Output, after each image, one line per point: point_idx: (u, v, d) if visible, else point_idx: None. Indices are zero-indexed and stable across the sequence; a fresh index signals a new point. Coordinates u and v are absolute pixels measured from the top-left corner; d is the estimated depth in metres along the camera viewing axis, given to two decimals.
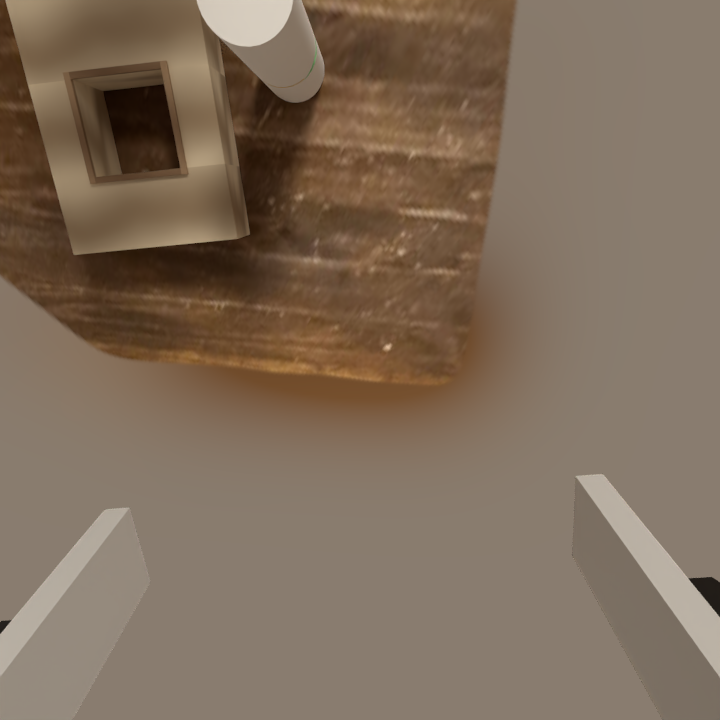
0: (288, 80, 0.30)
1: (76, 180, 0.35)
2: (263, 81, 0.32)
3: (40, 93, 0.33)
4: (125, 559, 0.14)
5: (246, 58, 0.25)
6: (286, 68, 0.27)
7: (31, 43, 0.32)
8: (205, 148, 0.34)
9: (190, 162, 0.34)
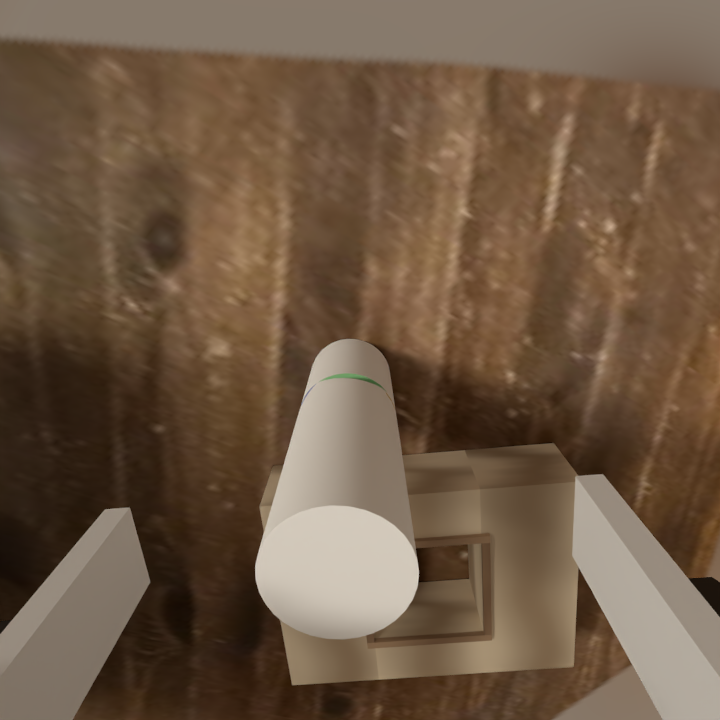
0: (397, 425, 0.20)
1: (485, 651, 0.28)
2: None
3: (387, 669, 0.29)
4: (125, 559, 0.14)
5: None
6: (398, 449, 0.18)
7: (337, 670, 0.29)
8: (459, 510, 0.25)
9: (475, 529, 0.26)
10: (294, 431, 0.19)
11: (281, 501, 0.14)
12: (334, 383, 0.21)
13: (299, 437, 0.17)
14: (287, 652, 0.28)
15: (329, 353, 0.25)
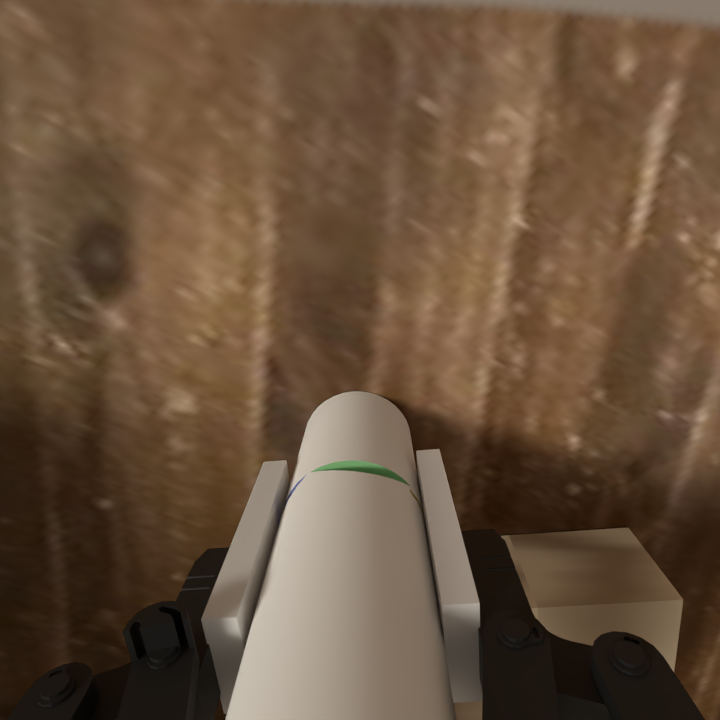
0: (428, 548, 0.13)
1: None
2: None
3: None
4: None
5: None
6: (436, 616, 0.11)
7: None
8: None
9: None
10: (268, 571, 0.12)
11: None
12: (333, 481, 0.14)
13: (271, 603, 0.10)
14: None
15: (328, 416, 0.18)
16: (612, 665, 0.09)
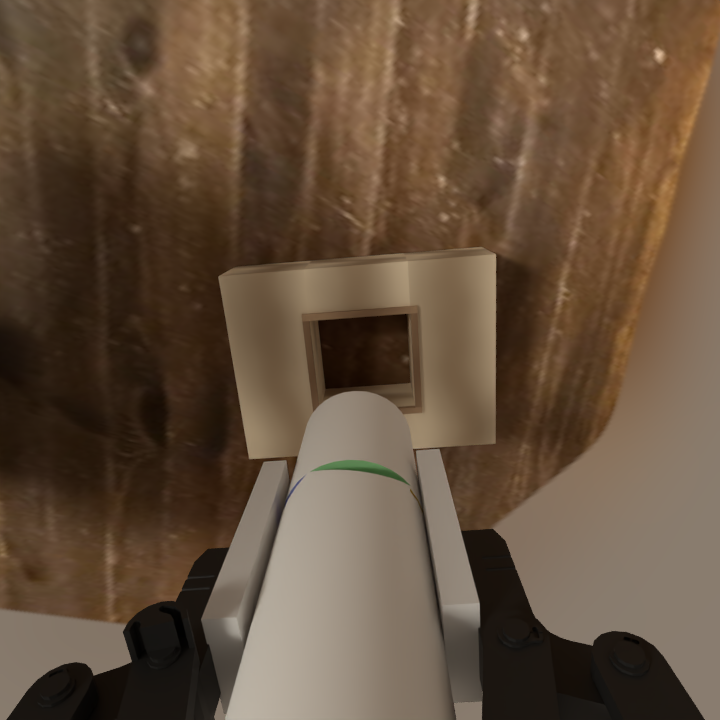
0: (428, 548, 0.13)
1: (417, 426, 0.32)
2: None
3: None
4: None
5: None
6: (436, 615, 0.11)
7: (288, 443, 0.33)
8: (390, 281, 0.29)
9: (404, 301, 0.30)
10: (268, 571, 0.12)
11: None
12: (332, 481, 0.14)
13: (271, 602, 0.10)
14: (244, 425, 0.33)
15: (328, 415, 0.18)
16: (612, 665, 0.09)
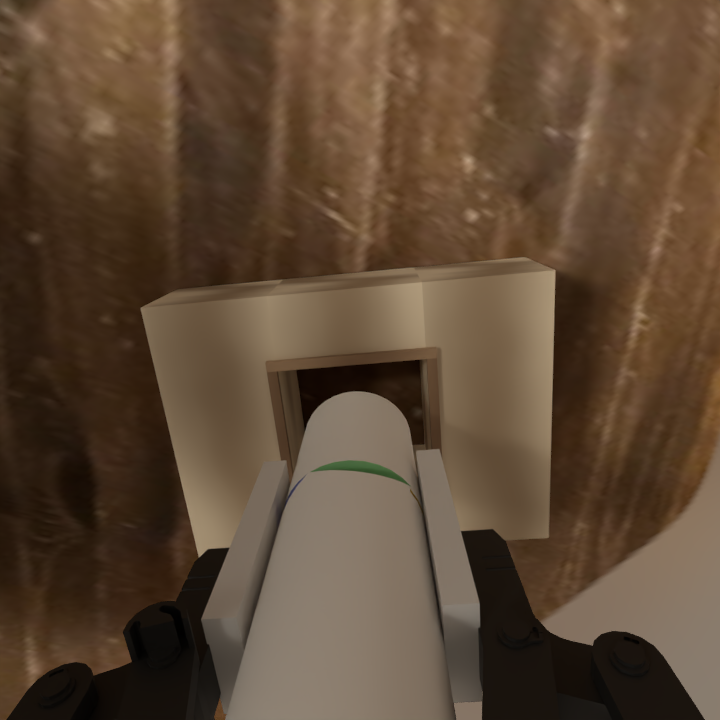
0: (428, 548, 0.13)
1: None
2: None
3: None
4: None
5: None
6: (436, 616, 0.11)
7: None
8: (396, 313, 0.20)
9: (417, 341, 0.20)
10: (268, 571, 0.12)
11: None
12: (333, 481, 0.14)
13: (271, 603, 0.10)
14: (190, 515, 0.23)
15: (328, 416, 0.18)
16: (612, 665, 0.09)
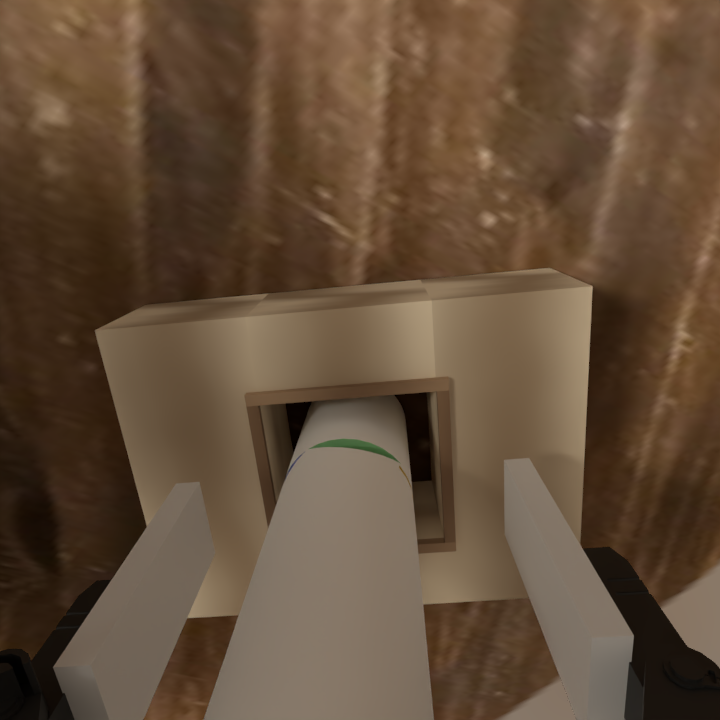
0: (413, 517, 0.15)
1: (447, 569, 0.19)
2: None
3: None
4: (197, 529, 0.15)
5: None
6: (415, 572, 0.12)
7: (234, 596, 0.20)
8: (400, 336, 0.16)
9: (426, 370, 0.17)
10: (267, 533, 0.13)
11: (217, 714, 0.08)
12: (328, 456, 0.15)
13: (268, 557, 0.12)
14: None
15: (327, 400, 0.20)
16: None
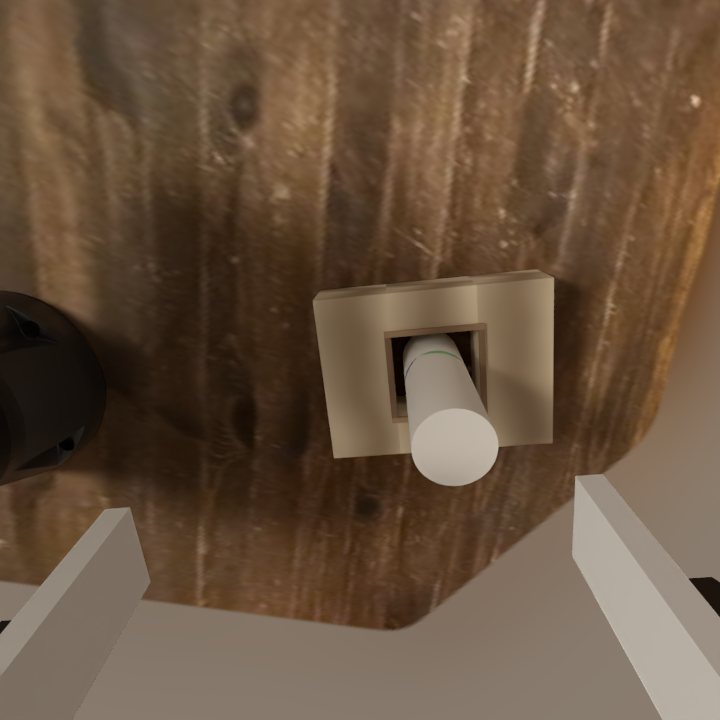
0: None
1: None
2: None
3: (407, 444, 0.37)
4: (125, 559, 0.14)
5: None
6: None
7: (368, 444, 0.38)
8: (461, 303, 0.34)
9: (473, 319, 0.34)
10: (411, 383, 0.31)
11: (422, 411, 0.26)
12: (431, 356, 0.33)
13: (419, 384, 0.29)
14: (331, 428, 0.37)
15: (419, 339, 0.37)
16: None
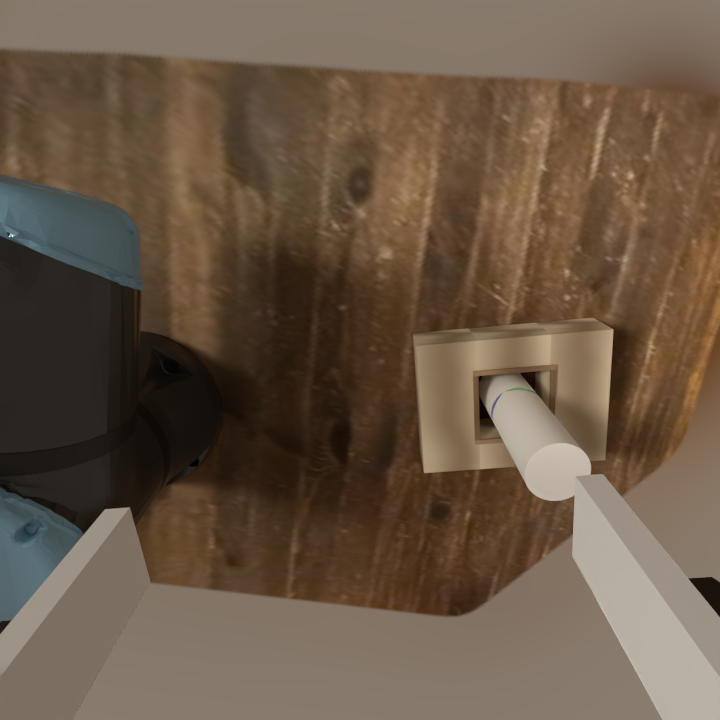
0: None
1: None
2: None
3: (486, 461, 0.45)
4: (125, 559, 0.14)
5: None
6: None
7: (454, 461, 0.45)
8: (537, 348, 0.42)
9: (546, 361, 0.42)
10: (505, 416, 0.39)
11: (530, 443, 0.34)
12: (516, 393, 0.41)
13: (516, 419, 0.37)
14: (423, 448, 0.45)
15: (496, 375, 0.45)
16: None
